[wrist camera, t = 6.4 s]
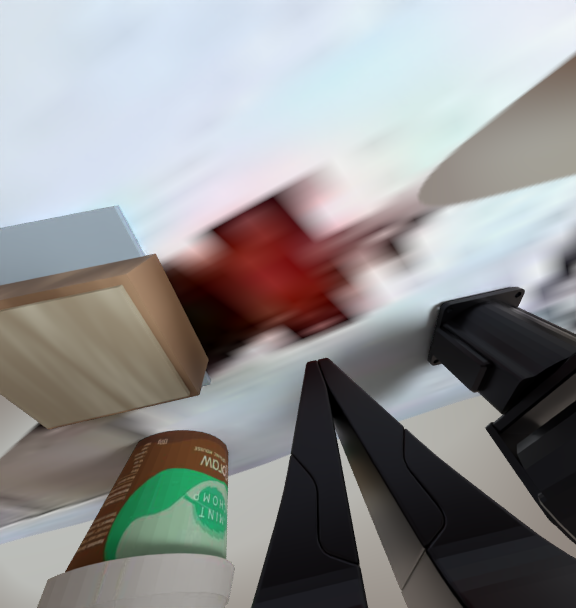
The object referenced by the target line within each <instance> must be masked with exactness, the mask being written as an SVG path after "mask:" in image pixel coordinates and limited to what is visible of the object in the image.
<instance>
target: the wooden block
mask: <svg viewBox="0 0 576 608" xmlns="http://www.w3.org/2000/svg"><path fill="white" fill-rule="evenodd" d="M208 360H209V359H208V357H207V355H206V353H205V351H204V349H203V347H202V345H201V343H200V341H199V339H198V337H197V335H196V333H195V331H194V329H193V327H192V325H191V323H190V321H189V319H188V317H187V315H186V313H185V311H184V309H183V307H182V305H181V303H180V301H179V299H178V297H177V295H176V293H175V291H174V289H173V287H172V285H171V283H170V281H169V279H168V277H167V275H166V273H165V271H164V269H163V267H162V265H161V263H160V261H159V259H158V257H157V255H156V254H152V255H147V256H142V257H137V258H132V259H127V260H122V261H118V262H113V263H108V264H103V265H98V266H93V267H88V268H83V269H78V270H73V271H69V272H64V273H59V274H54V275H49V276H44V277H39V278H34V279H29V280H24V281H19V282H15V283H10V284H5V285H0V394H1V395H2V396H4V397H6V399H8V400H9V401H10V402H12V403H13V404H15V405H16V406H17V407H19V408H20V409H21V410H23V411H24V412H26V413H27V414H28V415H29V416H31V417H32V418H34V419H35V420H36V421H38V422H39V423H40V424H42V425H43V426H44V427H46V428H47V429H53V428H57V427H62V426H66V425H70V424H75V423H79V422H84V421H88V420H92V419H97V418H101V417H105V416H110V415H114V414H119V413H123V412H127V411H132V410H136V409H140V408H145V407H149V406H153V405H158V404H162V403H167V402H171V401H175V400H180V399H184V398H188V397H193V396H197V395H199V394H200V390H201V387H202V383H203V379H204V375H205V371H206V368H207V364H208Z"/></svg>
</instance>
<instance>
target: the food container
mask: <svg viewBox="0 0 576 608" xmlns="http://www.w3.org/2000/svg"><path fill="white" fill-rule="evenodd" d="M227 496H228V450H227V447H226V445H225V444H224V443H223V442H222V441H221V440H220V439H218V438H216V437H215V436H212V435H210V434H207V433H203V432H198V431H188V430H177V431H168V432H162V433H158V434H155V435H152V436H149V437H147V438H144V439H143V440H141V441H139V442H138V444H137V445H136V447H135V449H134V451H133V453H132V454H131V456H130V458H129V460H128V461H127V463H126V465H125V467H124V468H123V470H122V472H121V474H120V476H119V477H118V479H117V481H116V483H115V484H114V486H113V488H112V490H111V492H110V493H109V495H108V497H107V499H106V500H105V502H104V504H103V506H102V508H101V509H100V511H99V513H98V515H97V516H96V518H95V520H94V522H93V524H92V525H91V527H90V529H89V531H88V532H87V535H86V536H85V538H84V540H83V541H82V543H81V545H80V547H79V548H78V550H77V552H76V554H75V555H74V557H73V559H72V561H71V562H70V564H69V566H68V568H67V570H66V571H65V573H62V574H60V575H57V576H55V577H53V578H50V579H48V581H47V583H46V586H45V588H44V591H43V594H42V596H41V599H40V601H39V604H38V607H37V608H225V606H226V605H227V604H228V601H229V597H230V591H231V586H232V581H233V575H234V570H235V568H234V565H233V564H232V562H230V561H228V560H226V544H227Z"/></svg>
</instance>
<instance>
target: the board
mask: <svg viewBox="0 0 576 608" xmlns="http://www.w3.org/2000/svg"><path fill="white" fill-rule="evenodd" d="M142 256H145V255H144V253H143V251H142V249H141V247H140V245H139V243H138V241H137V240H136V238H135V236H134V234H133V232H132V230H131V228H130V226H129V224H128V223H127V221H126V219H125V217H124V215H123V213H122V211H121V209H120V207H119V206H112V207H107V208H102V209H97V210H92V211H86V212H81V213H76V214H71V215H66V216H61V217H56V218H50V219H45V220H40V221H35V222H30V223H25V224H20V225H14V226H9V227H4V228H0V285H5V284H10V283H15V282H19V281H24V280H29V279H34V278H39V277H44V276H49V275H54V274H59V273H64V272H69V271H73V270H78V269H83V268H88V267H93V266H98V265H103V264H108V263H113V262H118V261H122V260H127V259H132V258H137V257H142ZM210 382H211V380H210V378H209V376H208V374H207V372H206V371H205V375H204V379H203V383H202V386H205V385H209V384H210Z"/></svg>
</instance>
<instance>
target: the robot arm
mask: <svg viewBox="0 0 576 608" xmlns="http://www.w3.org/2000/svg"><path fill="white" fill-rule="evenodd" d="M524 293H525V290H524V289H522V288H519V287H512V288H508V289H503V290H499V291H494V292H490V293H485V294H481V295H476V296H472V297H467V298H463V299H458V300H454V301H449V302H446V303H444V304H443V305H442V306H441V307H440V310H439V314H438V319H437V323H436V327H435V331H434V335H433V340H432V344H431V348H430V352H429V356H428V362H429V363H430V364H431V365H433V366H434V365H439V364H443V365H444V366H445V367H446V368H447V369H448V370H449V371H450V372H451V373H452V374H453V375H455V376H456V377H457V378H458V379H459V380H460V381H461V382H462V383H463V384H464V385H465V386H466V387H467V388H468V389H469V390H471V391H472V392H479V393H480V394H481V395H482V396H483V397H484V398H485V399H486V400H487V401H488V402H489V403H490V404H491V405H493V406H494V407H495V408H496V409H497V410H498V411H499V412H500V413H501V414H503V415H502V416H501V417H500V418H498V420H496V421H495V422H491V423H490V424H489V425H487V427H486V430H487V432H488V433H489V434H490V436H491V437H492V439H493V440H494V442H495V443H496V445H497V446H498V447H499V449H500V450H501V452H502V453H503V455H504V456H505V458H506V459H507V461H508V462H509V463H510V465H511V466H512V468H513V469H514V471H515V472H516V474H517V475H518V477H519V478H520V479H521V481H522V482H523V484H524V485H525V487H526V488H527V490H528V491H529V493H530V494H531V495H532V497H533V498H534V500H535V501H536V503H537V504H538V505H539V507H540V508H541V509H542V511H543V512H544V514H545V515H546V517H547V518H548V519H549V520H550V521H551V522H552V523H553V524H554V525H556V526H557V527H558V528H559V529H560V530H561V531H562V532H563V533H564V534H565V535H566V536H567V537H568V538H569V539H570V540H571V541H572V542H574V543H575V544H576V334H574V333H572V332H570V331H568V330H566V329H564V328H561V327H559V326H557V325H555V324H553V323H551V322H549V321H546V320H544V319H542V318H540V317H538V316H536V315H533V314H531V313H529V312H527V311H525V310H523V309H521V308H518V306H519V304H520V302H521V299H522V297H523V295H524ZM335 429H336V432H337V434H338V436H339V439H340V441H341V444H342V446H343V449H344V451H345V454H346V456H347V459H348V461H349V464H350V466H351V469H352V471H353V474H354V476H355V478H356V481H357V483H358V486H359V488H360V491H361V493H362V496H363V498H364V501H365V503H366V505H367V508H368V511H369V513H370V515H371V518H372V520H373V523H374V525H375V528H376V530H377V533H378V535H379V538H380V540H381V542H382V545H383V548H384V550H385V552H386V555H387V557H388V560H389V562H390V565H391V567H392V570H393V572H394V575H395V577H396V580H397V582H398V585H399V587H400V589H401V590H402V595H403V597H404V600H405V602H406V604H407V607H408V608H576V558H574V557H572V556H570V555H569V554H567V553H565V552H564V551H562V550H561V549H559V548H558V547H556V546H555V545H553V544H551V543H550V542H549V541H547V540H546V539H544V538H542V537H541V536H540V535H538V534H537V533H536V532H534V531H533V530H532V529H530V528H529V527H528V526H526V525H525V524H524V523H522V522H521V521H520V520H518V519H517V518H516V517H515V516H513V515H512V514H511V513H509V512H508V511H507V510H506V509H504V508H503V507H502V506H500V505H499V504H498V503H497V502H495V501H494V500H492V499H491V498H490V497H489V496H487V495H486V494H485V493H484V492H482V491H481V490H480V489H478V488H477V487H476V486H474V485H473V484H472V483H471V482H469V481H468V480H467V479H465V478H464V477H463V476H461V475H460V474H459V473H458V472H456V471H455V470H454V469H453V468H451V467H450V466H449V465H448V464H446V463H445V462H444V461H443V460H441V459H440V458H439V457H438V456H436V455H435V454H434V453H433V452H432V451H431V450H429V449H428V448H427V447H426V446H425V445H424V444H423V443H421V442H420V441H419V440H418V439H417V438H416V437H415V436H414V435H412V434H411V433H410V432H409V431H408V430H407V429H404V427H403V426H402V425H401V424H400V423H399V422H398V421H397V420H396V419H395V418H394V417H393V416H391V415H390V414H389V413H388V412H387V411H386V410H385V409H384V408H383V407H381V406H380V405H379V404H378V403H377V402H376V401H375V400H374V399H373V398H372V397H370V396H369V395H368V394H367V393H366V392H365V391H364V390H363V389H362V388H361V387H359V386H358V385H357V384H356V383H355V382H354V381H353V380H352V379H351V378H350V377H348V376H347V375H346V374H345V373H344V372H343V371H342V370H341V369H340V368H339V367H337V366H336V365H335V364H334V363H333V362H332V361H331V360H330V359H328V358H324V359H319V360H318V361H316V360H315V361H310V362H307V364H306V368H305V374H304V380H303V386H302V392H301V397H300V403H299V409H298V415H297V421H296V426H295V432H294V438H293V444H292V449H291V456H290V460H289V466H288V471H287V477H286V482H285V486H284V491H283V495H282V500H281V504H280V507H279V511H278V515H277V519H276V522H275V527H274V530H273V533H272V537H271V540H270V544H269V547H268V551H267V554H266V558H265V562H264V565H263V569H262V572H261V576H260V579H259V583H258V586H257V590H256V593H255V597H254V600H253V604H252V607H251V608H368V605H367V600H366V594H365V589H364V584H363V579H362V573H361V568H360V566H359V557H358V551H357V546H356V541H355V535H354V530H353V524H352V519H351V513H350V509H349V503H348V497H347V492H346V486H345V481H344V476H343V470H342V465H341V459H340V454H339V448H338V443H337V437H336V432H335Z"/></svg>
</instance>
